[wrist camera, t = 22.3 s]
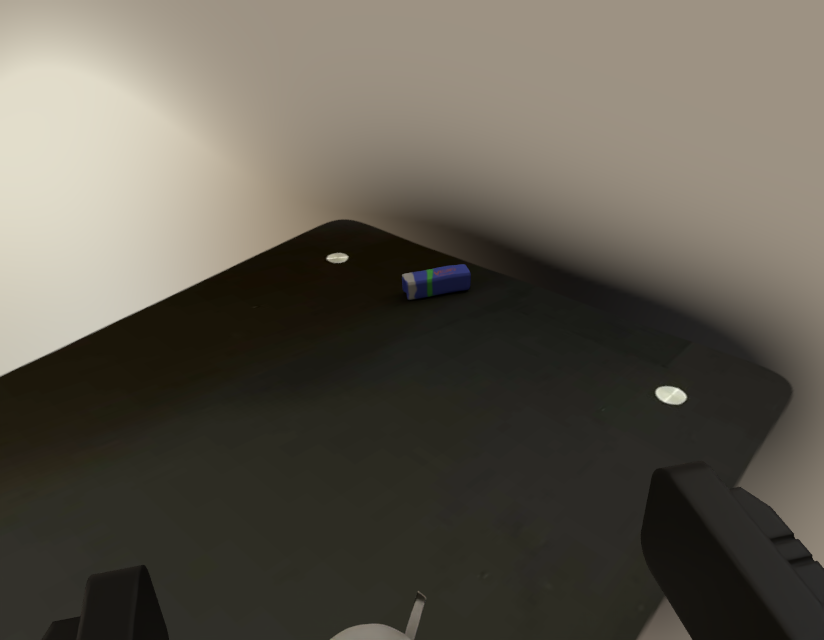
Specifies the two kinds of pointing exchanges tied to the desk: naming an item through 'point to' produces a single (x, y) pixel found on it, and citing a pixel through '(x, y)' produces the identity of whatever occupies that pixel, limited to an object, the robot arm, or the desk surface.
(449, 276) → the eraser
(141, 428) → the desk surface
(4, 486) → the desk surface
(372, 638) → the milkshake
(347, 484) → the desk surface
